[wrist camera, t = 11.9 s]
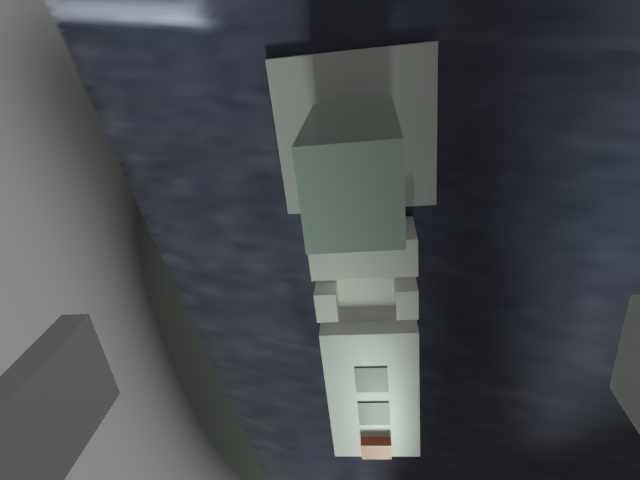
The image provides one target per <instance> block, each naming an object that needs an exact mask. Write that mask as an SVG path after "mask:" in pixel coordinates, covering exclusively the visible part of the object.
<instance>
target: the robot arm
mask: <svg viewBox="0 0 640 480" xmlns="http://www.w3.org/2000/svg"><path fill="white" fill-rule="evenodd" d="M609 388H610V389H611V391H612V392H613V394H614V396H615V397H616V399H617V400H618V402H619V403H620V405H621V406H622V408H623V410H624V411H625V413H626V414H627V416H628V417H629V419H630V421H631V422H632V424H633V425H634V427H635V428H636V430H637V431H638V433H639V435H640V295H630V299H629V303H628V308H627V312H626V317H625V321H624V325H623V330H622V334H621V338H620V343H619V347H618V351H617V356H616V360H615V365H614V369H613V373H612V378H611V382H610V386H609ZM119 394H120V392H119V389H118V387H117V384H116V382H115V379H114V377H113V374H112V372H111V369H110V366H109V364H108V361H107V359H106V357H105V354H104V351H103V349H102V346H101V344H100V341H99V339H98V336H97V334H96V331H95V329H94V326H93V323H92V321H91V318H90V316H89V314H75V315H61V317H59V318H58V319H57V320H56V321H55V322H54V323H53V324H52V325H51V326H50V327H49V328H48V329H47V330H46V331H45V332H44V333H43V334H42V335H41V336H40V337H39V338H38V339H37V340H36V341H35V342H34V343H33V344H32V345H31V346H30V347H29V348H28V349H27V350H26V351H25V353H23V354H22V355H21V356H20V357H19V358H18V359H17V360H16V361H15V362H14V363H13V364H12V365H11V366H10V367H9V369H7V370H6V371H5V372H4V373H3V374H2V375H1V376H0V480H64V479H65V477H66V476H67V474H68V473H69V471H70V470H71V468H72V467H73V465H74V463H75V462H76V460H77V459H78V457H79V456H80V454H81V453H82V451H83V450H84V448H85V446H86V445H87V443H88V442H89V440H90V439H91V437H92V436H93V434H94V432H95V431H96V429H97V428H98V426H99V425H100V423H101V421H102V420H103V418H104V417H105V415H106V414H107V412H108V411H109V409H110V407H111V406H112V404H113V403H114V401H115V400H116V398H117V397H118V395H119Z"/></svg>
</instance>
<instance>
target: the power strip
mask: <svg viewBox="0 0 640 480" xmlns="http://www.w3.org/2000/svg"><path fill="white" fill-rule="evenodd" d="M308 259H309V266H310V274H311V281H315V283H316V284H315V289H314V295H313V296H314V304H315V311H316V318H317V323H321V324H320V331H319V341H320V348H321V356H322V363H323V371H324V378H325V385H326V393H327V400H328V408H329V415H330V423H331V430H332V438H333V445H334V452H335V456H362V459H392V457H420V382H419V330H418V324H417V320H419V291H418V286H417V280H416V277H418V237H417V233H416V228H415V224H414V219H413V216H407V217H406V250H390V251H370V252H350V253H330V254H311V255H308Z"/></svg>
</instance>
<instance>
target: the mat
mask: <svg viewBox="0 0 640 480" xmlns="http://www.w3.org/2000/svg"><path fill="white" fill-rule="evenodd" d="M265 62H266V69H267V76H268V82H269V89H270V96H271V102H272V109H273V116H274V122H275V129H276V136H277V142H278V149H279V156H280V162H281V169H282V176H283V182H284V189H285V196H286V202H287V209H288V214H296V213H300V207H299V199H298V192H297V185H296V177H295V170H294V163H293V155H292V148H291V147H292V145H293V143H294V141H295V139H296V137H297V135H298V133H299V131H300V129H301V127H302V125H303V123H304V122H305V120H306V118H307V116H308V114H309V112H310V110H311V108H312V106H313V104H317V103H328V102H339V101H350V100H360V99H371V98H382V97H392V99H393V102H394V106H395V109H396V113H397V116H398V120H399V123H400V127H401V130H402V134H403V137H404V172H405V207H409V206H425V205H436V201H437V98H438V41H429V42H419V43H410V44H400V45H391V46H382V47H372V48H363V49H353V50H344V51H335V52H325V53H316V54H306V55H297V56H288V57H278V58H269V59H266V60H265Z"/></svg>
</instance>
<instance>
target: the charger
mask: <svg viewBox="0 0 640 480" xmlns="http://www.w3.org/2000/svg"><path fill="white" fill-rule="evenodd" d="M291 148H292V155H293V163H294V170H295V177H296V185H297V192H298V199H299V207H300V214H301V221H302V229H303V236H304V243H305V251H306V255H311V254H330V253H350V252H370V251H390V250H406V214H405V172H404V137H403V134H402V130H401V127H400V123H399V120H398V116H397V113H396V109H395V106H394V102H393V99H392V97H382V98H371V99H360V100H350V101H339V102H328V103H317V104H313V106H312V108H311V110H310V112H309V114H308V116H307V118H306V120H305V122H304V123H303V125H302V127H301V129H300V131H299V133H298V135H297V137H296V139H295V141H294V143H293V145H292V147H291Z"/></svg>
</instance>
